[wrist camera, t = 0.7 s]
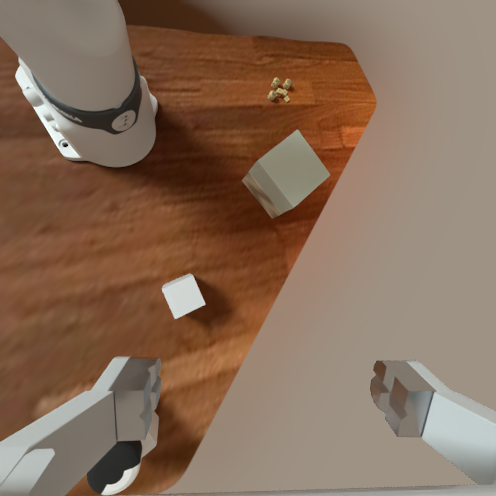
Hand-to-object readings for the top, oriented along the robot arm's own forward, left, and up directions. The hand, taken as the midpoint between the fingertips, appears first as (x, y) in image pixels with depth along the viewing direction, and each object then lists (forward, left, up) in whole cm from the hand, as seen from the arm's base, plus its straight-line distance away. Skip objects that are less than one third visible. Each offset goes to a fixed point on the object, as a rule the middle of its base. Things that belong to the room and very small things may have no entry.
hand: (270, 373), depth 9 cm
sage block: (-4, +26, -34) cm, 43 cm away
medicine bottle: (+10, -22, -39) cm, 46 cm away
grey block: (0, -2, -39) cm, 39 cm away
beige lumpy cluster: (-19, +41, -40) cm, 60 cm away
